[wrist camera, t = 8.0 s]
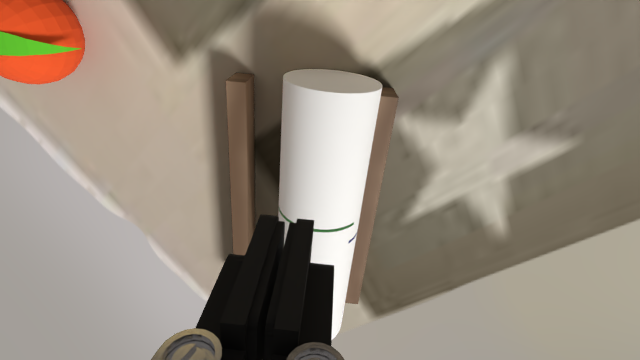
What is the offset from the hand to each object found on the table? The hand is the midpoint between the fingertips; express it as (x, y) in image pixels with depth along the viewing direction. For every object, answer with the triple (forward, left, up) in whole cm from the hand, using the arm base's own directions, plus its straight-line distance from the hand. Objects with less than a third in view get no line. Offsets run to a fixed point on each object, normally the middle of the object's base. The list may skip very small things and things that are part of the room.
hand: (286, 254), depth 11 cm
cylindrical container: (-1, -2, -17) cm, 17 cm away
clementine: (+20, -3, -21) cm, 29 cm away
